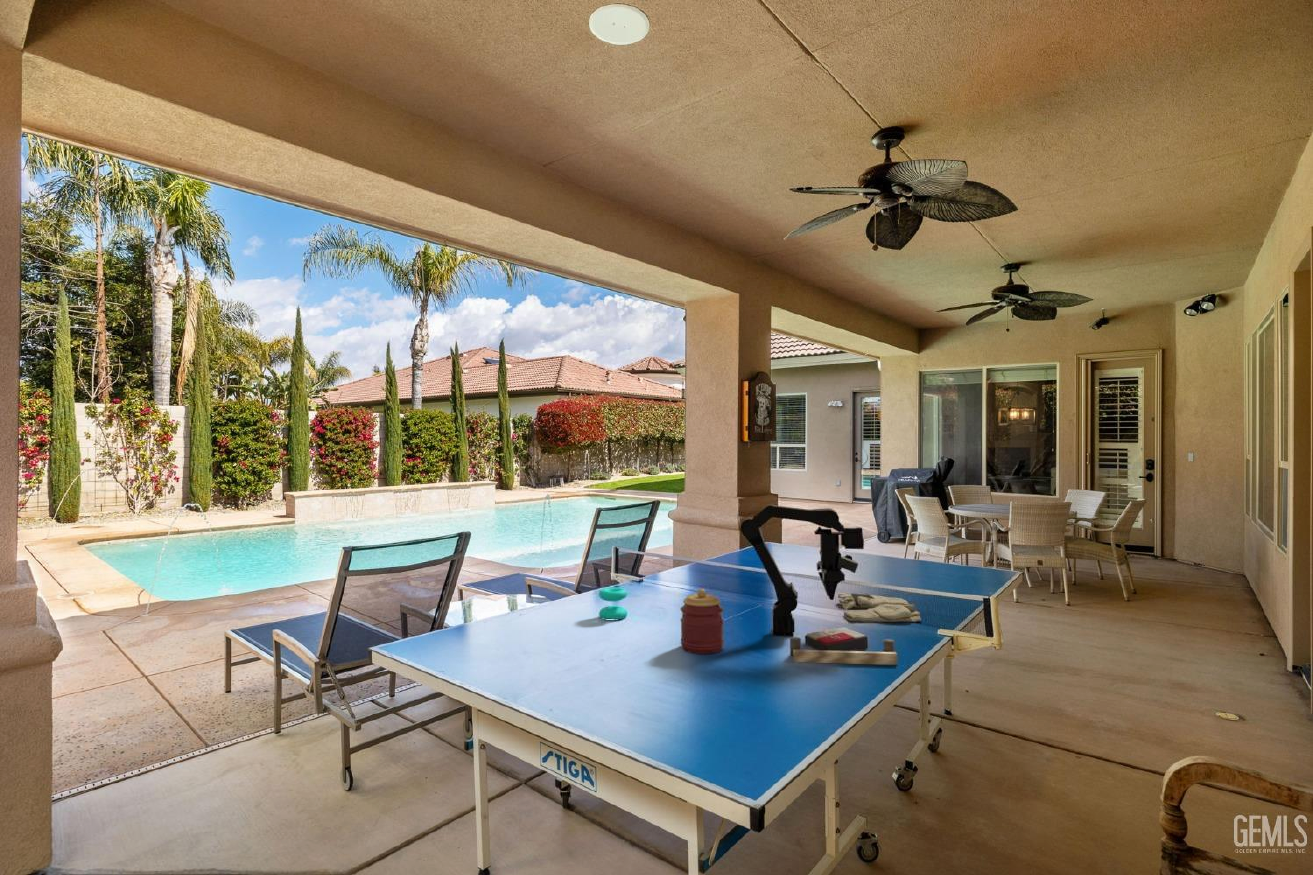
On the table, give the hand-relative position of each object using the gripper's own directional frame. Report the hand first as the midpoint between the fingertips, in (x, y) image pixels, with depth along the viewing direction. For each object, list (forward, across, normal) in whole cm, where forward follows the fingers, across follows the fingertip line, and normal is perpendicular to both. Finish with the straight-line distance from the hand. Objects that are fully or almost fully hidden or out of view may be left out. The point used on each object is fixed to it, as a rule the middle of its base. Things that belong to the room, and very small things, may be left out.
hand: (830, 597), depth 208 cm
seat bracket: (+12, -23, 0) cm, 26 cm away
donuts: (+12, +16, +73) cm, 76 cm away
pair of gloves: (+13, +31, -21) cm, 39 cm away
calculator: (+13, -10, 0) cm, 16 cm away
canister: (+12, -16, +40) cm, 45 cm away
